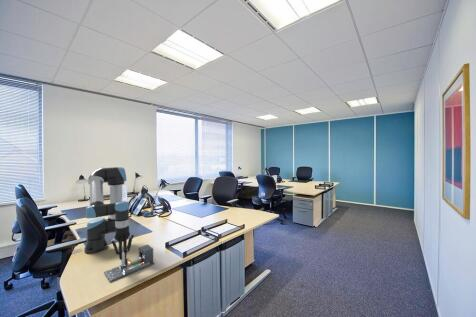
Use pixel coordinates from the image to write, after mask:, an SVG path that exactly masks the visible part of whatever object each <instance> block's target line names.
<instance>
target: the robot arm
mask: <svg viewBox="0 0 476 317" xmlns="http://www.w3.org/2000/svg"><path fill="white" fill-rule="evenodd" d="M125 182H127V174H126V169H125V168H124V167H121V166H120V167H119V166H116V167H115V166H114V167H101V168H96V169H95V170H94V171H93V172H91V173H90V175H89V177H88V179H87V184H88V185H89V206H86V207H85V218H86V219H91V220H89V221H88V222H87V224H86V243H85V246H84V253H85V254H95V253H100V252H102V251H105V250H106V249H107V248H108V247H109V243H108V241H107V238H106V235H108V234H113V233H114V234H115V235H114V238H112V239H111V240H110V242H111V243H112V246H113V248H114V249H113V250H114V253H115V254H116V256H118V260H120V265H124V264H125V258H128V257H127V253H128V252H130V250H131V245H132V242H133V239H134V237H135V235H134V234H132V233H130V213H129V212H130V205H129V204H130V203H129V201H126V200H123V185H125ZM104 184H107V186H108V187H109V203H106V204H105V200H104V186H103V185H104ZM105 217H107V218H105ZM116 242H117V243H118V247H117V243H116Z"/></svg>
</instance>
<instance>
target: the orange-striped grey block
mask: <svg viewBox="0 0 476 317" xmlns="http://www.w3.org/2000/svg"><path fill="white" fill-rule="evenodd" d="M142 261H143V256H142V257H139V256H138V257H136V258H134V259H130V258H129V257H126V258H125V264H124V265H125V266H126V267H129V266H132V265H134V264H137V263H139V262H142Z"/></svg>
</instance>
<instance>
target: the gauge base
mask: <svg viewBox="0 0 476 317" xmlns="http://www.w3.org/2000/svg"><path fill="white" fill-rule="evenodd" d="M142 256H143V261H142V262H139V263H137V264H134V265H132V266H129V267H126V266H125V265H122V264H120V265H119V266H116V267H114V268H111V269H108V270H106V271H103V274H104V276H105V277H106V278H107V280H108V282H109V283H112V282H114V281H117V280H121V279H123V278H124V277H127V276H130V275H132V274H134V273H137V272H139V271H141V270H144V269H146V268H149V267H151V266H154V265H155V264H156V263H155V261H154V248H153V247H152V246H151V245H149V244H145V245H142V246H139V247H138V258H139V257H142Z"/></svg>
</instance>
